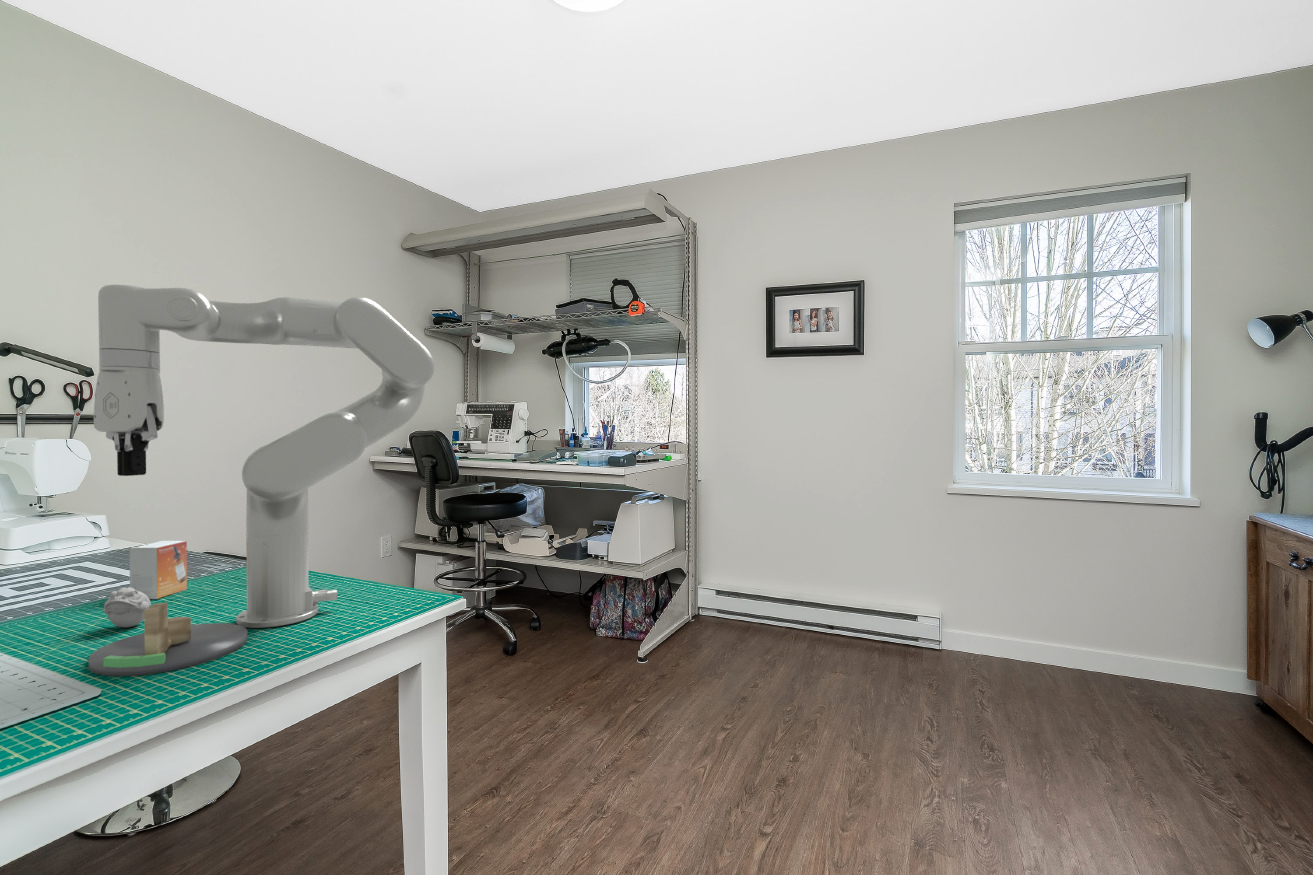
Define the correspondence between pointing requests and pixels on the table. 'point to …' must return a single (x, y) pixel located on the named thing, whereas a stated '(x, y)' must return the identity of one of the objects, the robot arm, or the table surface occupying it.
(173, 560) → the small box
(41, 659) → the table surface
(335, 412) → the robot arm
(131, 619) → the grey rounded lump
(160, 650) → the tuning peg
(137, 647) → the dial face
